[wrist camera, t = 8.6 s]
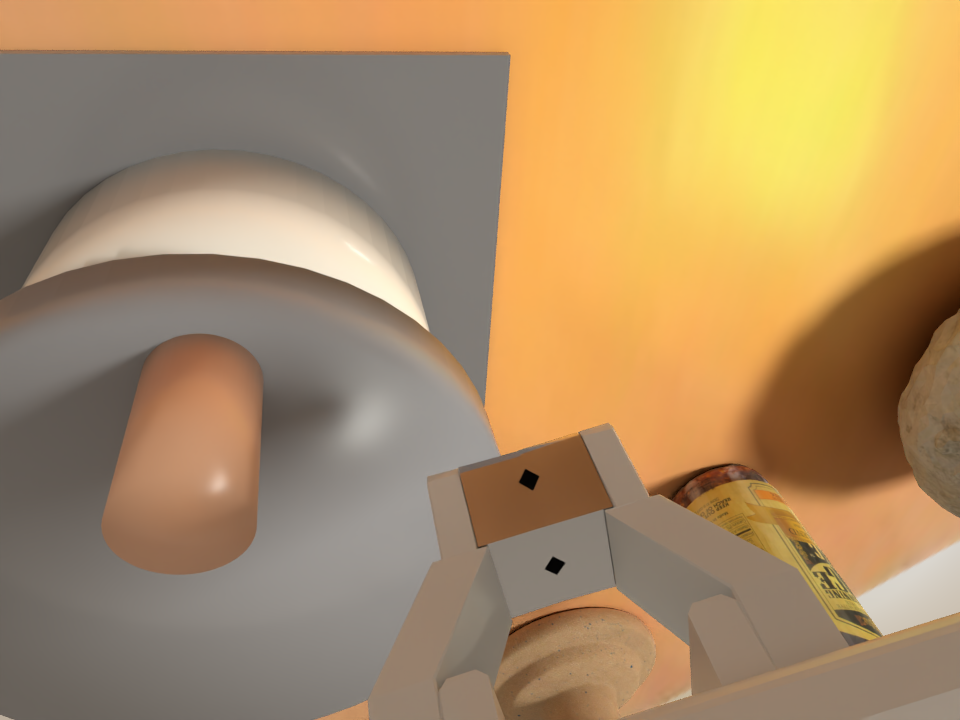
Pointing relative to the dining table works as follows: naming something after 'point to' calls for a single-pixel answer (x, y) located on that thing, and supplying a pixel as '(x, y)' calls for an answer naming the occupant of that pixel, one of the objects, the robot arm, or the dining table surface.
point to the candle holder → (574, 666)
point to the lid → (215, 488)
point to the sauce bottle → (775, 538)
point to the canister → (264, 169)
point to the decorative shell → (935, 417)
